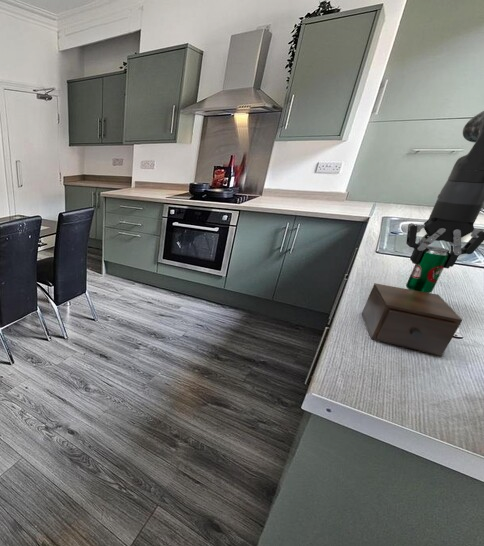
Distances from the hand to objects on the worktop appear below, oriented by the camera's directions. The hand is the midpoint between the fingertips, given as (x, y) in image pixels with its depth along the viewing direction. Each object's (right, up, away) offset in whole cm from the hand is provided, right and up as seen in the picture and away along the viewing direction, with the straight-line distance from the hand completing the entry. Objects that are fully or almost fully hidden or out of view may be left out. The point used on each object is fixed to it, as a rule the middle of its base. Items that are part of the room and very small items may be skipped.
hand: (429, 265), depth 82 cm
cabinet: (-12, -17, -3) cm, 22 cm away
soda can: (0, -7, +3) cm, 8 cm away
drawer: (-14, -17, -6) cm, 23 cm away
